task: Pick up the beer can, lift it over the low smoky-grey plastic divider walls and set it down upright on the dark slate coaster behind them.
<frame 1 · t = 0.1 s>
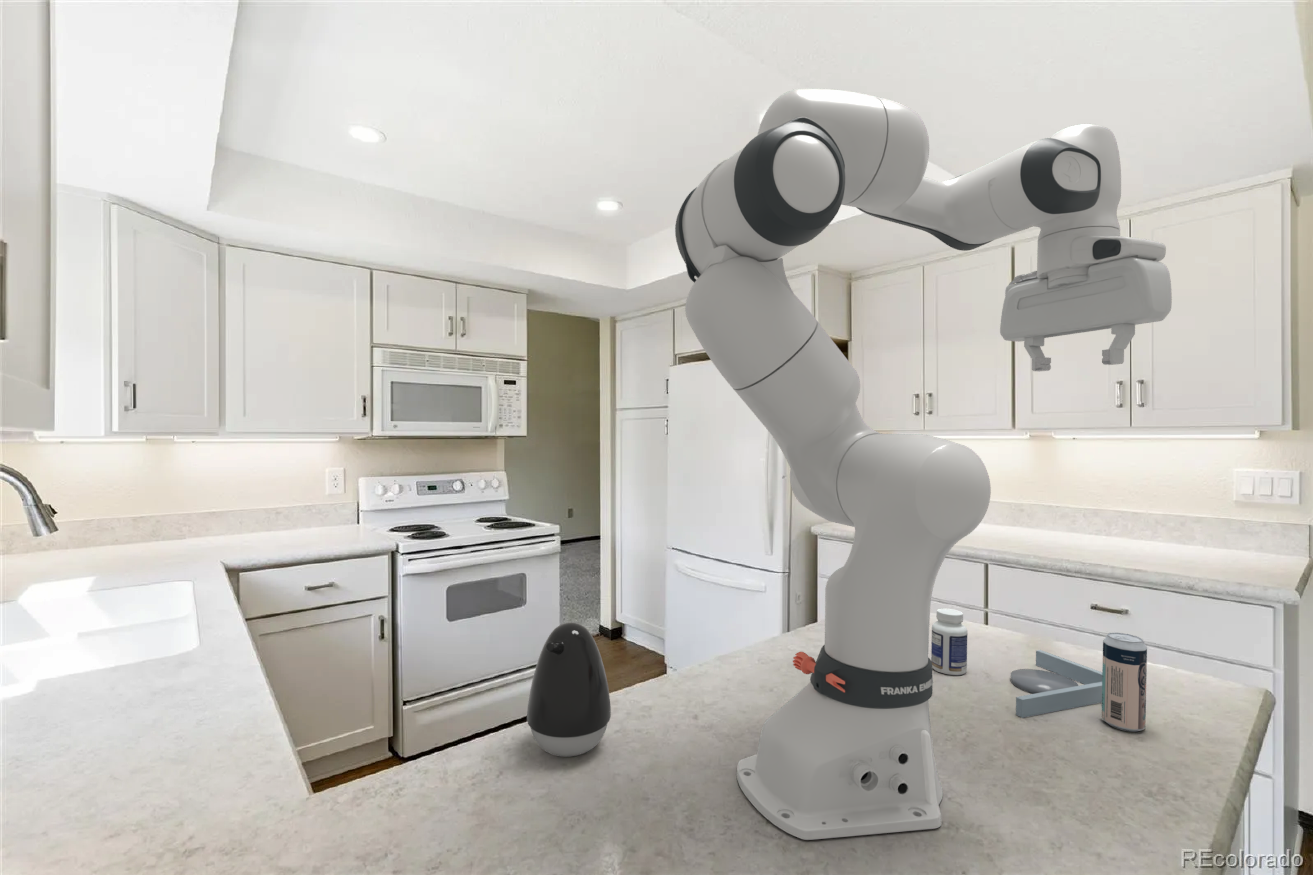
hand: (1075, 367, 80), 48 cm above the countertop, fingers open, 8 cm apart
black egg-shaped tumbler: (568, 748, 77), on the countertop
pill bottle: (948, 671, 103), on the countertop
beer can: (1123, 727, 84), on the countertop
divider wall: (1080, 704, 91), on the countertop
coaster: (1043, 686, 97), on the countertop
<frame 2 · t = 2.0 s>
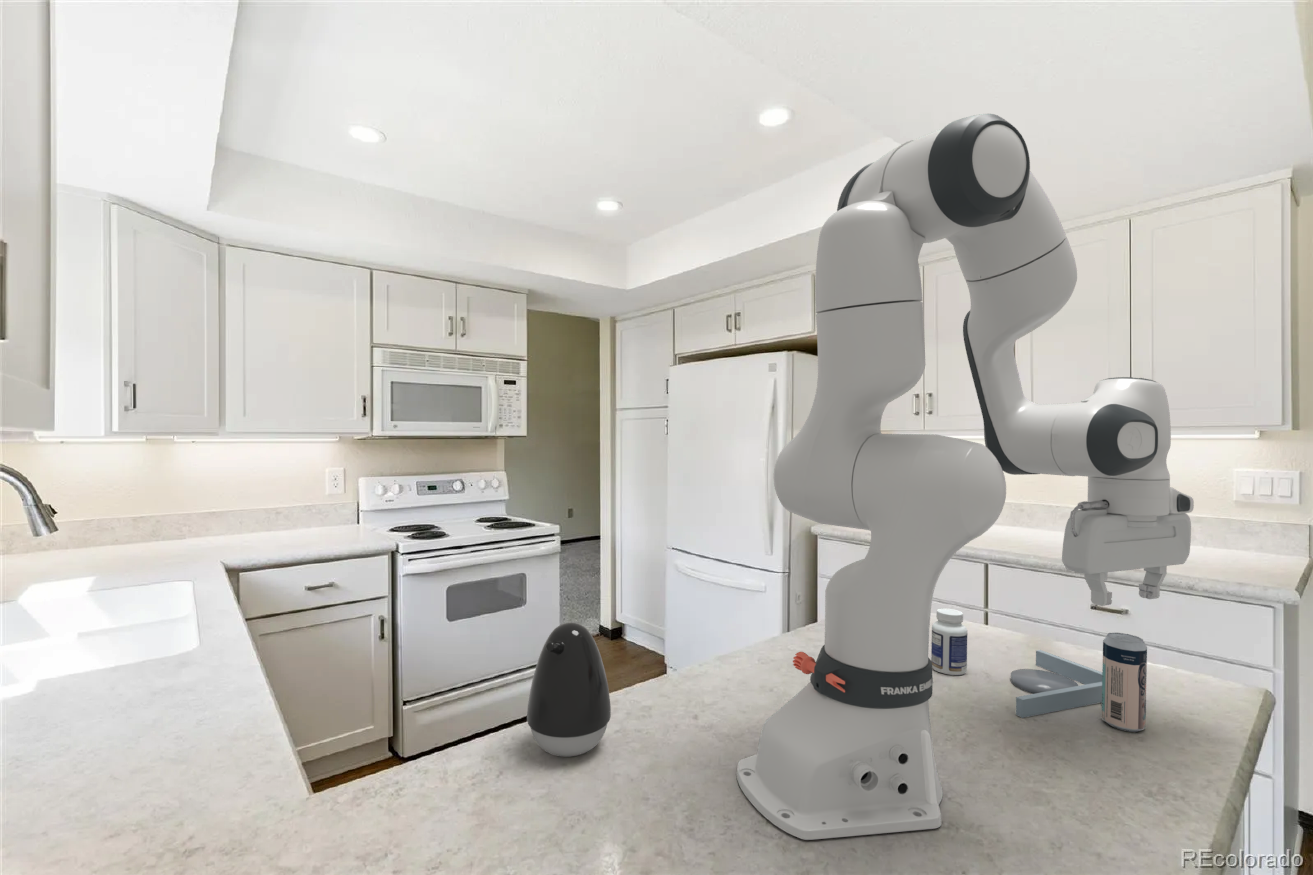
hand: (1125, 601, 84), 17 cm above the countertop, fingers open, 8 cm apart
nothing on the countertop moved.
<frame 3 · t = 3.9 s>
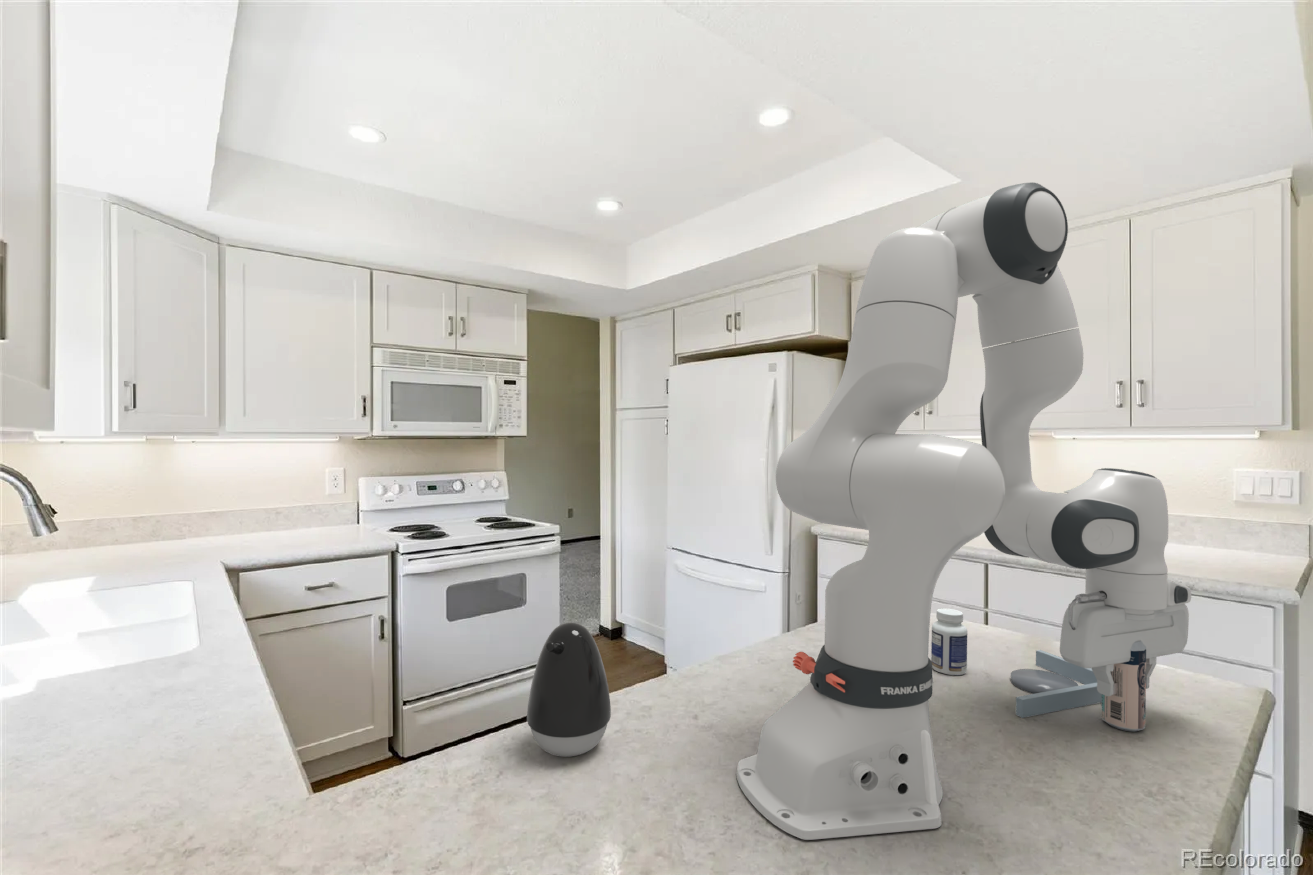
hand: (1123, 691, 84), 5 cm above the countertop, fingers closed on beer can, 5 cm apart
beer can: (1123, 726, 84), on the countertop, touching gripper
everything else where it was.
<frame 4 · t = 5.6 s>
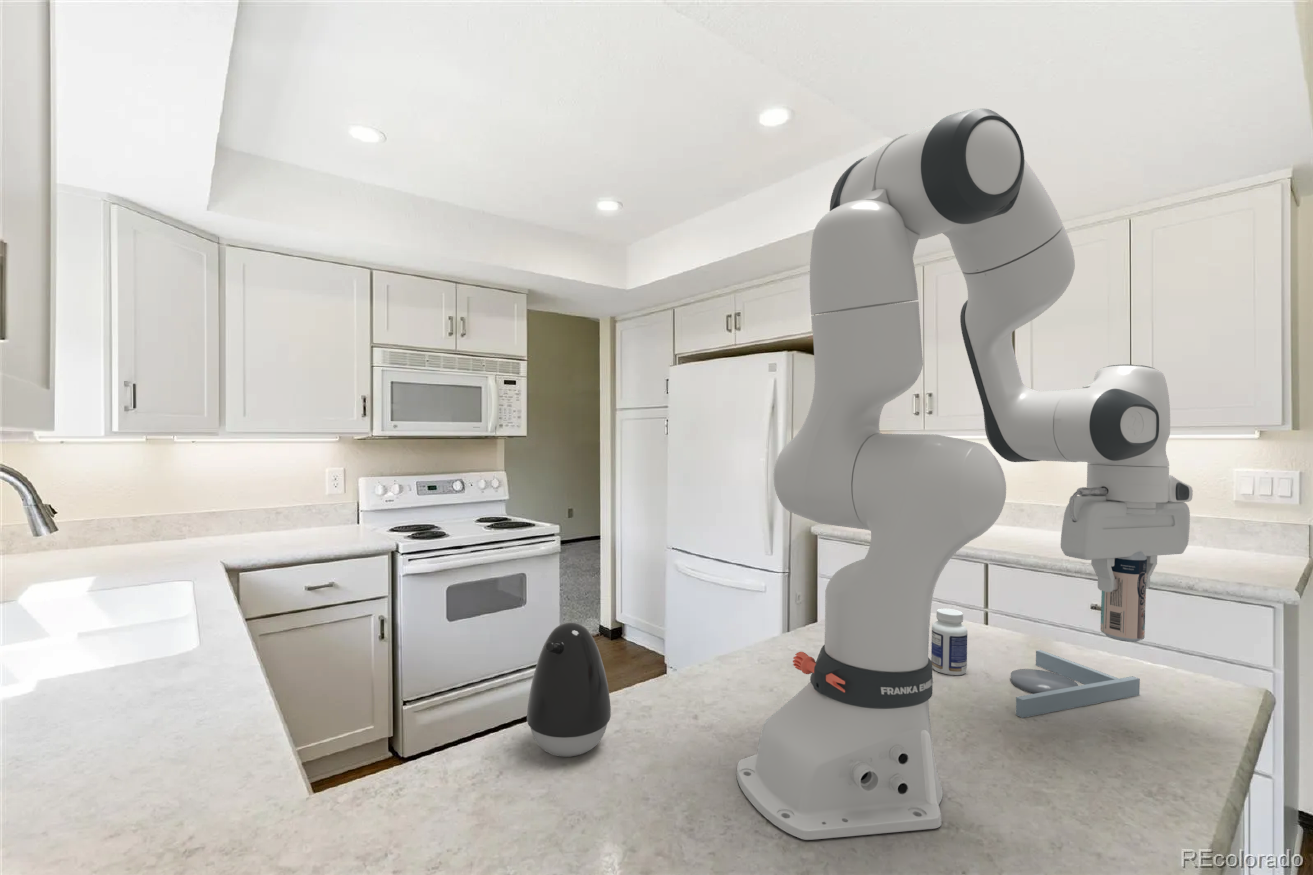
hand: (1123, 589, 84), 18 cm above the countertop, fingers closed on beer can, 5 cm apart
beer can: (1121, 639, 84), point 12 cm above the countertop, touching gripper
everything else where it was.
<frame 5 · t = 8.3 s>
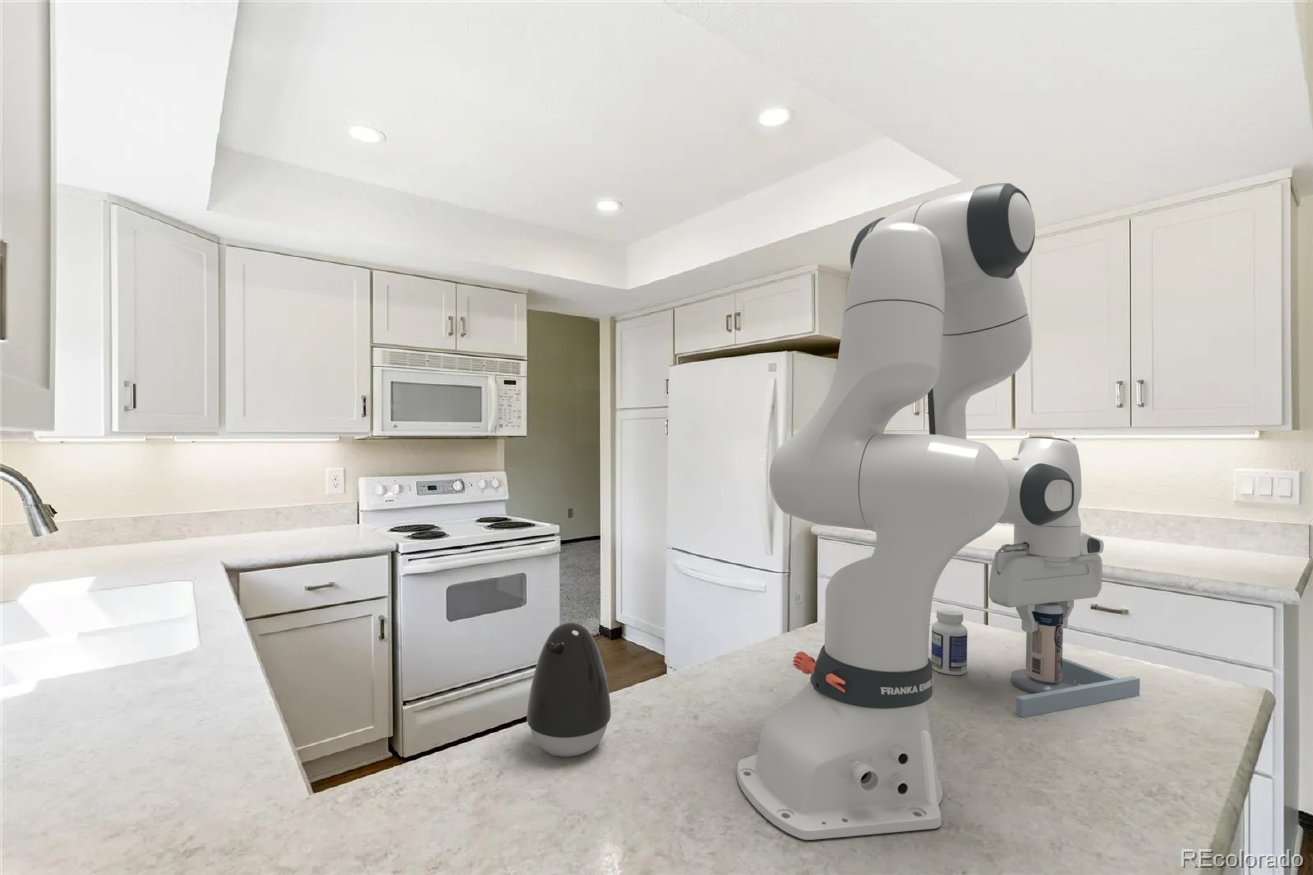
hand: (1044, 629, 97), 9 cm above the countertop, fingers closed on beer can, 5 cm apart
beer can: (1043, 680, 97), point 1 cm above the countertop, touching coaster, gripper
everything else where it was.
when the fingers open (7 cm above the countertop, at t = 9.5 s): beer can stays where it is, resting on coaster.
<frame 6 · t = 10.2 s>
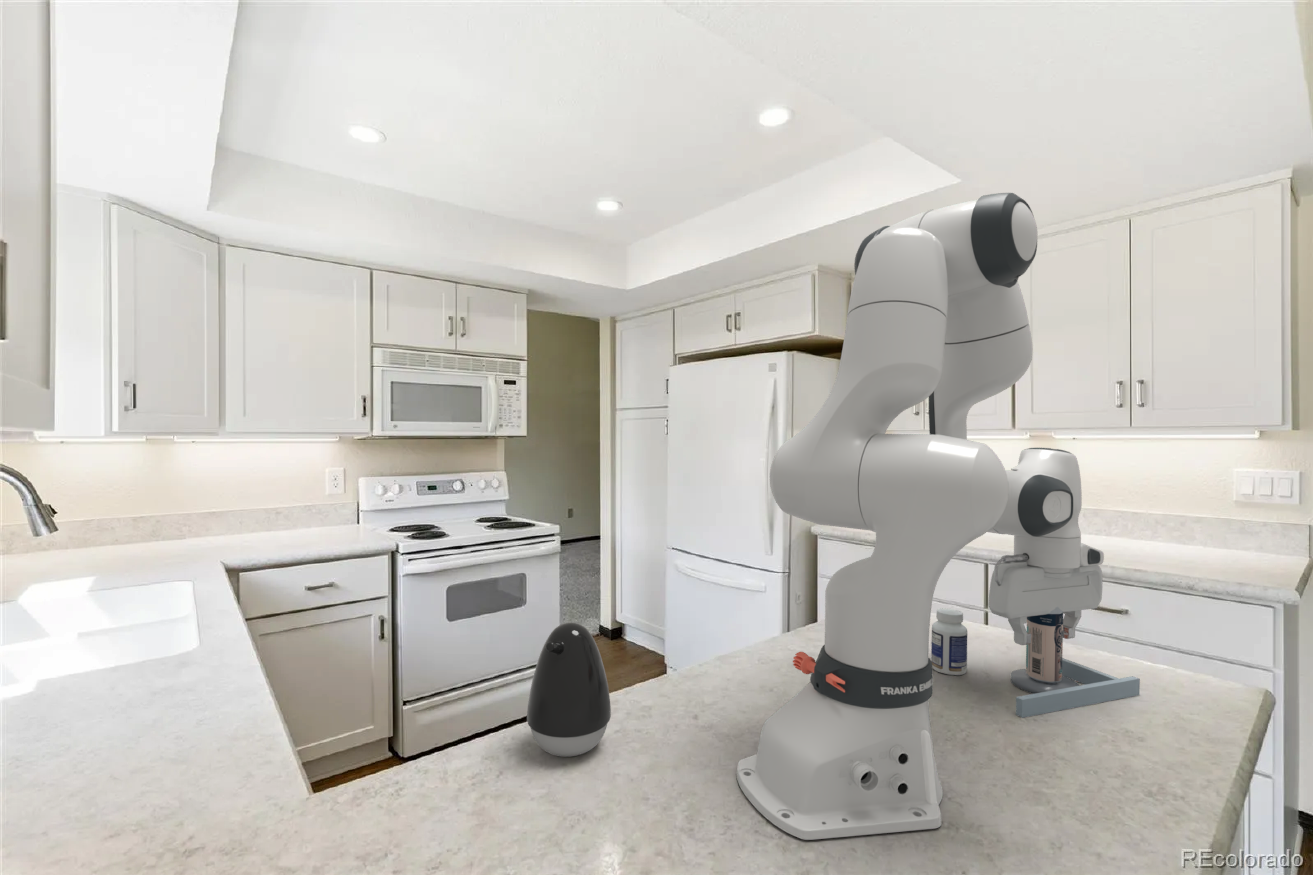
hand: (1044, 640, 97), 7 cm above the countertop, fingers open, 8 cm apart
beer can: (1043, 680, 97), point 1 cm above the countertop, touching coaster
everything else where it was.
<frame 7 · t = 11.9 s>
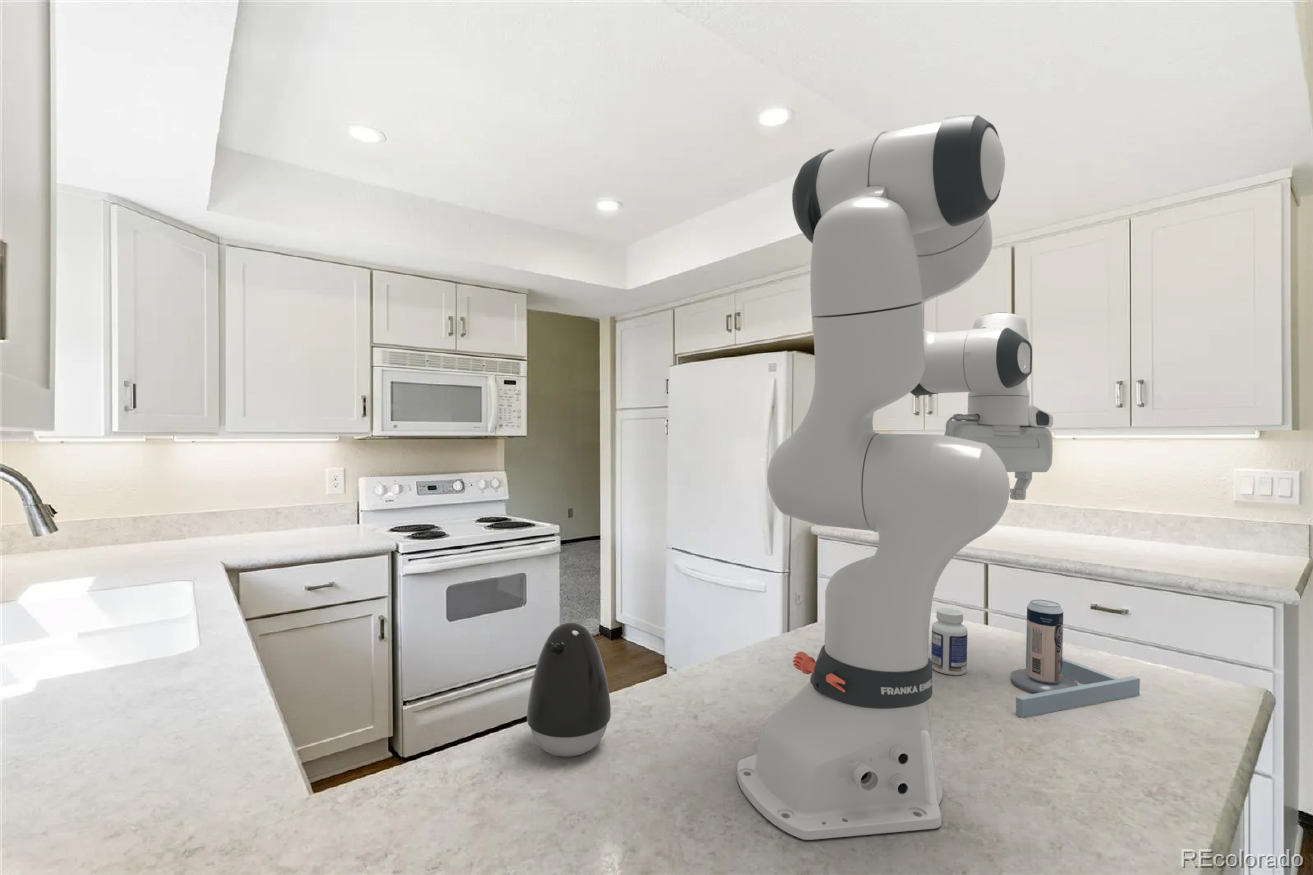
hand: (995, 500, 102), 28 cm above the countertop, fingers open, 8 cm apart
nothing on the countertop moved.
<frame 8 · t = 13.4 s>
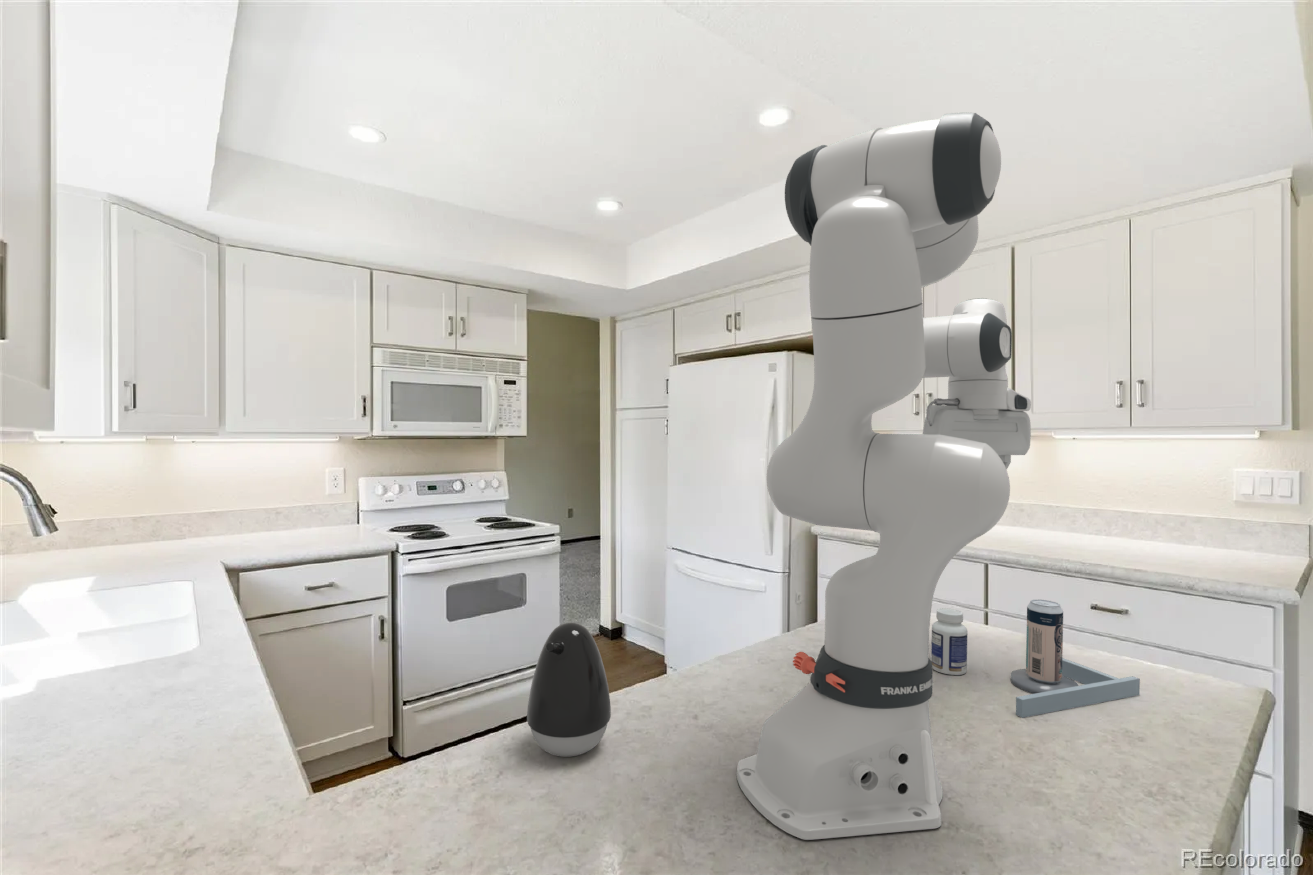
hand: (975, 482, 104), 31 cm above the countertop, fingers open, 8 cm apart
nothing on the countertop moved.
at the end: beer can 0.2 cm from the coaster (horizontally); beer can tilted 0°; the gripper is holding nothing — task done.
